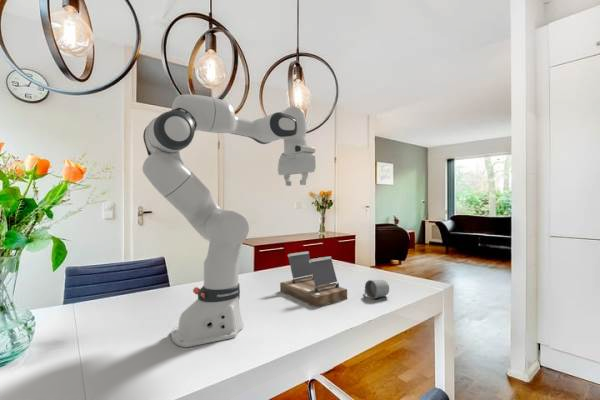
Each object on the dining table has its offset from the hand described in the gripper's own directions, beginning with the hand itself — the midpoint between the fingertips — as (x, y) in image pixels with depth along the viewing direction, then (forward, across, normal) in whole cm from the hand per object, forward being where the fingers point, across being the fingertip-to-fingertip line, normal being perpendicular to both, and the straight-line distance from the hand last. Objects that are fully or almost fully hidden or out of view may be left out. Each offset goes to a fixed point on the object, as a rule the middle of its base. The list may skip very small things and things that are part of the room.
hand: (295, 185), depth 118 cm
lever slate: (+42, +1, +16) cm, 45 cm away
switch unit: (+48, -7, +15) cm, 51 cm away
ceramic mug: (+48, +11, +35) cm, 61 cm away
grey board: (+42, -15, +16) cm, 48 cm away
